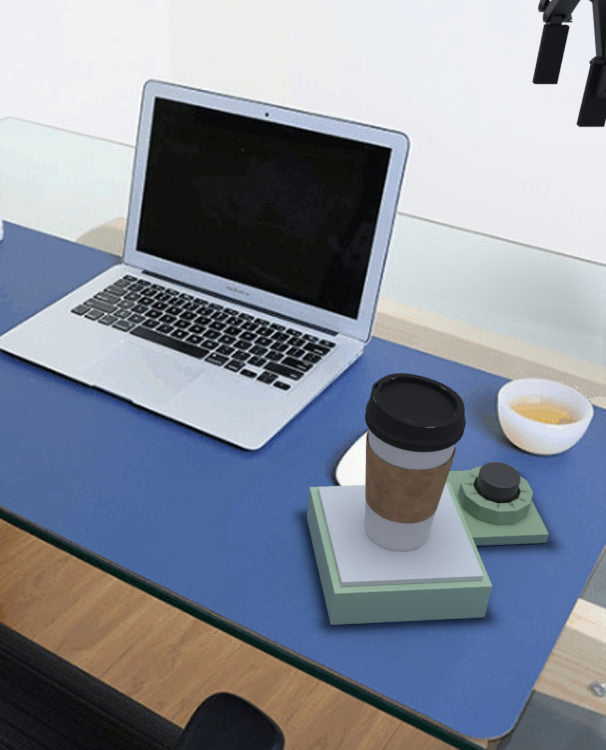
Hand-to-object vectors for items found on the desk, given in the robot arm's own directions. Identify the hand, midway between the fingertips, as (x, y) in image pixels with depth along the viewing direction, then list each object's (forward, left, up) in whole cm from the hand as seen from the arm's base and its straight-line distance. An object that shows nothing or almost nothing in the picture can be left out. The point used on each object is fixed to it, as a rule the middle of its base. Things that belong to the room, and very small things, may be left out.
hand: (566, 103), depth 110 cm
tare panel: (+12, +30, -32) cm, 45 cm away
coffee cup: (+24, +37, -27) cm, 52 cm away
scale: (+24, +37, -32) cm, 54 cm away
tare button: (+12, +30, -29) cm, 43 cm away
